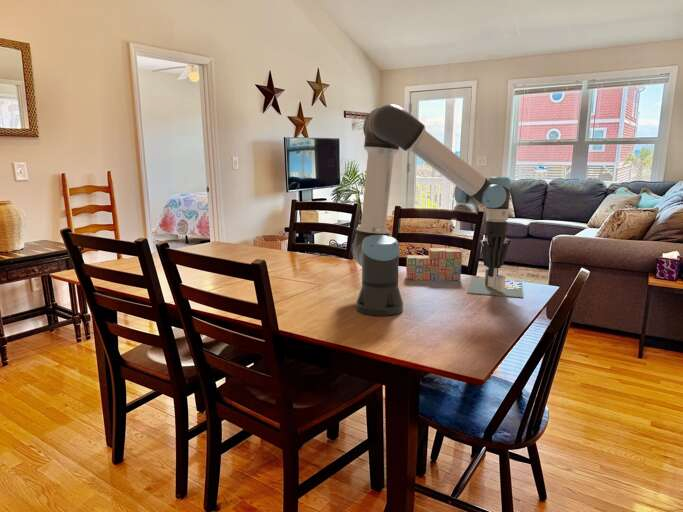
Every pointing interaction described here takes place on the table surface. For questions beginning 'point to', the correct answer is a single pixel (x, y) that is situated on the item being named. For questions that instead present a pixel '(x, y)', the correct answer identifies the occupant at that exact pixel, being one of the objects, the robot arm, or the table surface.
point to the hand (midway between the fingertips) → (492, 285)
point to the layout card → (479, 288)
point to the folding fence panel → (499, 282)
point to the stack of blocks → (435, 265)
